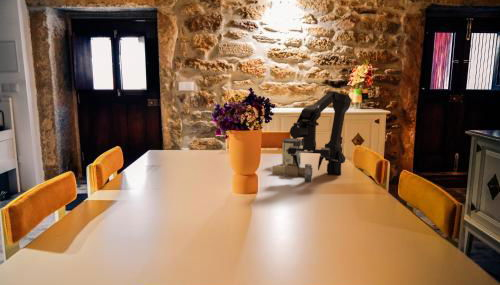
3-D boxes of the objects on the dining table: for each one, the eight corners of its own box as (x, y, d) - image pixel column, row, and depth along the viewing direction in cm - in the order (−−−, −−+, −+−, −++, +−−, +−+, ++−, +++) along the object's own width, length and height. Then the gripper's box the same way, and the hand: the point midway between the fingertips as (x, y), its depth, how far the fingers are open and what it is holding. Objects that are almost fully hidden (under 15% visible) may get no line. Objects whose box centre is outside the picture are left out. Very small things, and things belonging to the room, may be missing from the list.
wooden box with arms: (312, 174, 183) (313, 164, 182) (311, 178, 176) (311, 167, 176) (274, 171, 188) (274, 162, 187) (271, 175, 182) (271, 165, 181)
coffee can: (299, 162, 208) (300, 138, 205) (301, 167, 197) (302, 141, 195) (281, 162, 208) (281, 138, 205) (282, 167, 198) (282, 141, 195)
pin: (311, 180, 172) (312, 164, 170) (310, 182, 169) (311, 165, 167) (305, 180, 173) (305, 163, 171) (304, 182, 170) (304, 165, 168)
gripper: (331, 134, 172) (330, 166, 175) (291, 132, 177) (291, 164, 180) (329, 138, 161) (328, 172, 164) (287, 136, 167) (287, 169, 169)
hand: (308, 169), depth 170 cm, fingers open, 9 cm apart
